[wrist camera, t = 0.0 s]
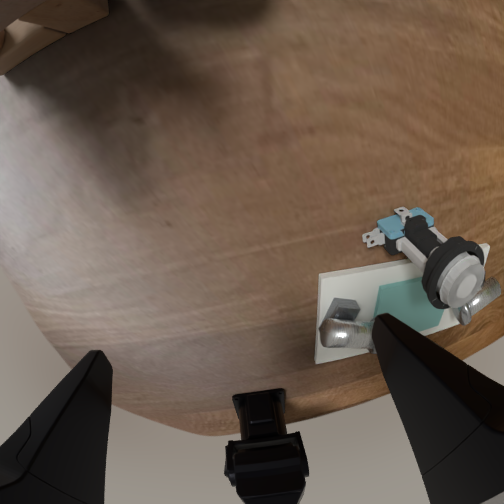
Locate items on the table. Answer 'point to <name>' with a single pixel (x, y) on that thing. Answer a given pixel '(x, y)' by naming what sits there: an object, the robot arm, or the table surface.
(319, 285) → the white rectangular board
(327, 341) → the shaft left
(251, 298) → the table surface
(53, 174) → the table surface
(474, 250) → the push button
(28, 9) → the wooden block
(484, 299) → the shaft right
